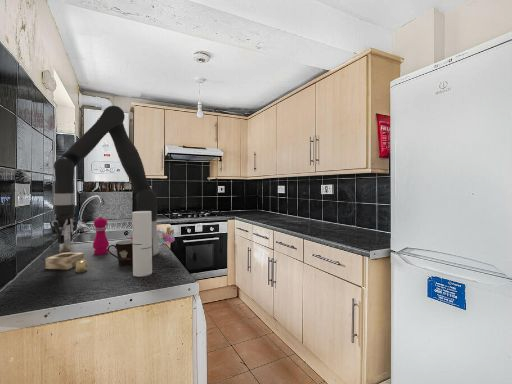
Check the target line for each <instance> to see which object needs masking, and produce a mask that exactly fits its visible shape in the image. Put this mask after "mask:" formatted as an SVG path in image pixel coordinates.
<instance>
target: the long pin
mask: <svg viewBox="0 0 512 384" xmlns="http://www.w3.org/2000/svg"><path fill="white" fill-rule="evenodd" d="M59 227H60V226H59ZM60 228H62V227H60ZM60 232H61V230H60ZM71 242H72V241H71V238H70V224H69V225H66V229H65V230H64V243H63V244H59V254H60V253H68V252H71V251H72V250H71V245H72V243H71Z"/></svg>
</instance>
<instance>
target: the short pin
mask: <svg viewBox="0 0 512 384" xmlns="http://www.w3.org/2000/svg"><path fill="white" fill-rule="evenodd" d="M87 271H88V260H86V259H85V260H80V261H76V266H75V272H76V273H84V272H87Z"/></svg>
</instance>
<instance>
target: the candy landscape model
mask: <svg viewBox="0 0 512 384" xmlns="http://www.w3.org/2000/svg"><path fill="white" fill-rule="evenodd" d="M174 231H175V229H171V226H167V227H166V231H164V230H163V229H161V228H158V227H157V235H158V236H159V247H160V246H162V245H169V244H171V243H173V242H175V241H176V240H175V239H176V238H175V232H174ZM130 240H133V235H132V236H130Z"/></svg>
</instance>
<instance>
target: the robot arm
mask: <svg viewBox="0 0 512 384" xmlns="http://www.w3.org/2000/svg"><path fill="white" fill-rule="evenodd" d="M125 117H126V116H125V112H124V110H123V109H122V108H121V107H119V106H118V105H108V106H107V107H105V108H104V110H103V111H102V113H101V115H100V117H99V118H98V119H97V120H96V121H95V122H94V124H93V125H92V126H91V127H90V128H89V129H87V131H85V132H84V133H83V134H82V135H81V136H80V137H79V138H78V139H77V140H75V142H74V143H72V144H71V146H70V147H69V148H68V150H67V151H65V152H64V153H63V154H62V155H61V156H60V157H58V158H57V159H56V160H55V162H54V163H53V169H54V196H53V215H55V216H56V217H55V220H53V221H49V226H50V228H51V231H52V235H55V236H57V243H58V244H59V245H60V244H63V243H64V230H65V229H66V225H69V224H70V238H71V242H73V233H74V232H76V231H77V228H78V223H79V217H74V216H75V214H76V198H75V185H74V180H75V168H76V167H77V166H78V164H79V163H80V162H81V161H83V160H84V159H85V158H86V157H87V156H88V155H90V153H91V152H92V151H93V150H94V149H95V148H96V146H98V144H99V143H100V142H101V141H102V139H103V138H104V137H105V136H106V135H107V134H108V133H109V135H110V137H111V140H112V142H113V146H114V148H115V151H116V154H117V156H118V159H119V161H120V163H121V166H122V168H123V170H124V172H125V174H126V175H127V177H128V179H129V181H130V182H131V184H132V186H133V190H134V193H135V196H136V211H151V217H152V257H154V256H156V255H158V254H159V252H160V251H159V250H160V249H159V247H160V246H159V236H158V235H157V229H158V225H157V222H158V220H157V219H158V197H157V194H156V193H155V192H154V191H153V188H152V186H151V185H150V184H149V181H148V179H147V175H146V172H145V167H144V164H143V161H142V158H141V156H140V153H139V151H138V149H137V147H136V146H135V144H134V143H133V142H132V140H131V139H130V138H129V136H128V133H127V131H126V128H125V124H124V121H125ZM59 226H60V227H62V228H60V227H59ZM60 230H61V232H60Z"/></svg>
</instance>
